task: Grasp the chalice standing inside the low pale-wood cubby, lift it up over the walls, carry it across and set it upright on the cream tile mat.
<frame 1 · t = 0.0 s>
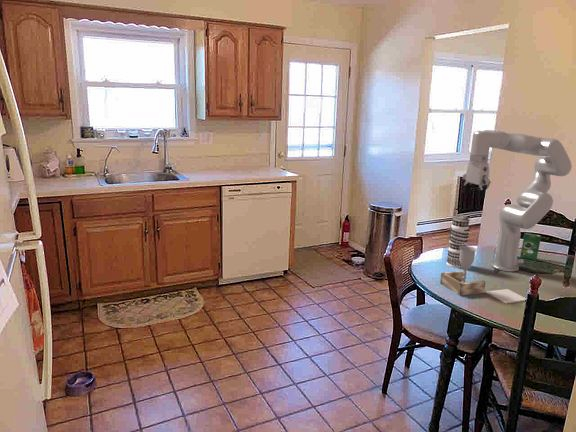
hand: (473, 196, 206), 37 cm above the table, tool pointing down, fingers open, 9 cm apart
mat: (506, 296, 187), on the table
chalice: (462, 288, 195), on the table
coffee box: (528, 258, 237), on the table
cubby: (462, 287, 195), on the table
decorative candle: (455, 265, 224), on the table
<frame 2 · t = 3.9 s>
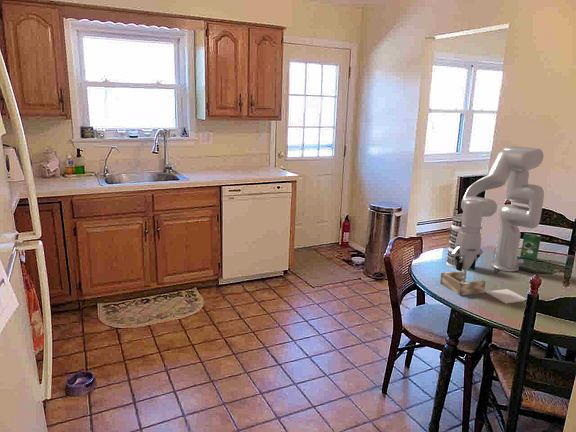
hand: (465, 269, 193), 9 cm above the table, tool pointing down, fingers closed on chalice, 5 cm apart
chalice: (462, 288, 195), on the table, touching gripper
everything else where it was.
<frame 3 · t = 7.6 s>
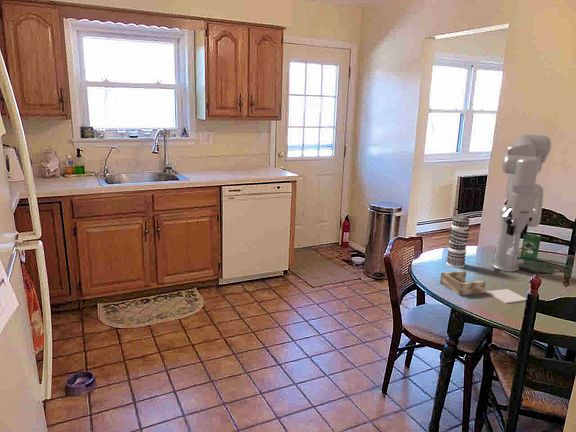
hand: (516, 233, 180), 27 cm above the table, tool pointing down, fingers closed on chalice, 5 cm apart
chalice: (513, 254, 183), point 18 cm above the table, touching gripper
everything else where it was.
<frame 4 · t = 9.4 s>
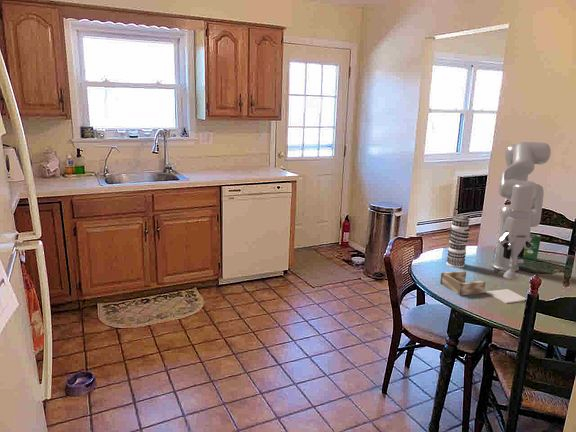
hand: (512, 257, 183), 17 cm above the table, tool pointing down, fingers closed on chalice, 5 cm apart
chalice: (509, 277, 185), point 9 cm above the table, touching gripper
everything else where it was.
when the fingers open (10 cm above the table, at t = 11.2 s): chalice drops 1 cm, resting on mat.
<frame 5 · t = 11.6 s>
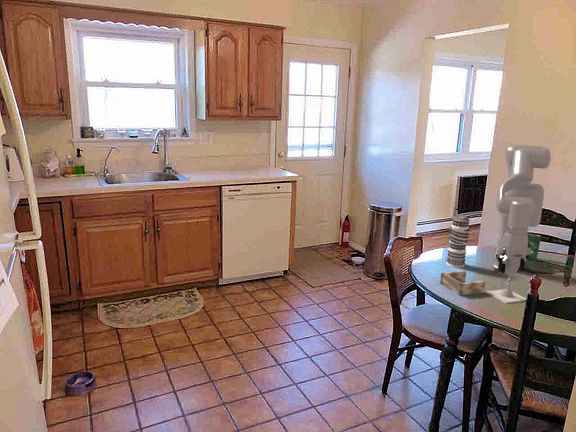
hand: (510, 271, 184), 11 cm above the table, tool pointing down, fingers open, 9 cm apart
chalice: (506, 295, 187), resting on mat
everything else where it was.
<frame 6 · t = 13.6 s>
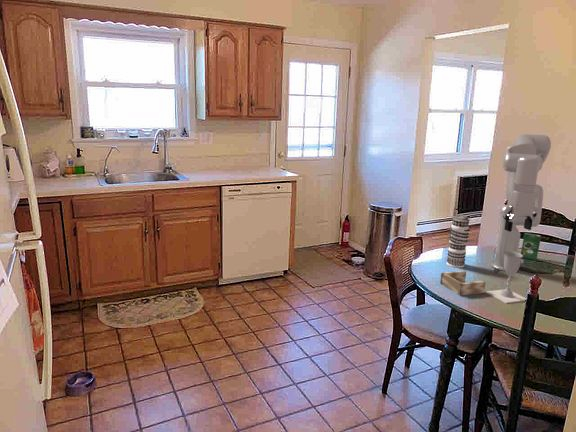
hand: (517, 229, 181), 29 cm above the table, tool pointing down, fingers open, 9 cm apart
nothing on the table moved.
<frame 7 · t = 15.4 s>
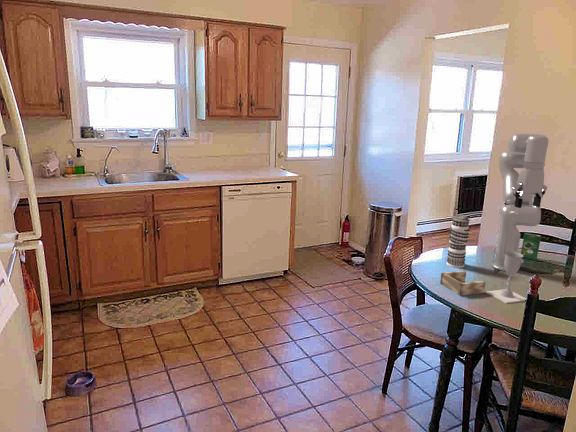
hand: (527, 206, 188), 36 cm above the table, tool pointing down, fingers open, 9 cm apart
nothing on the table moved.
at the end: chalice inside the target area on the mat (0.2 cm from its centre), point 0.4 cm above the mat's base; chalice tilted 0°; the gripper is holding nothing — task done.
